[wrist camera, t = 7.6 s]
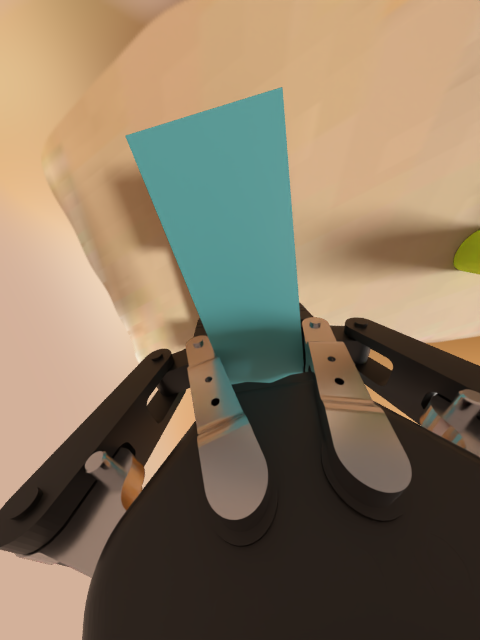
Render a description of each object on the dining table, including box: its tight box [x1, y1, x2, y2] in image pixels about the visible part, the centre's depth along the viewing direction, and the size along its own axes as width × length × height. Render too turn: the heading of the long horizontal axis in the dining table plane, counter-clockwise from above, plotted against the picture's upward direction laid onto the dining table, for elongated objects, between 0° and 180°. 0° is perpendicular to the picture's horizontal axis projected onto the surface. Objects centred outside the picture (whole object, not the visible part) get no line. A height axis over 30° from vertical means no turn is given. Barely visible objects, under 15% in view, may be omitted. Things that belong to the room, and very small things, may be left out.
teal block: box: [126, 87, 304, 384], centre depth 10 cm, size 14×4×6 cm, turn 13°
